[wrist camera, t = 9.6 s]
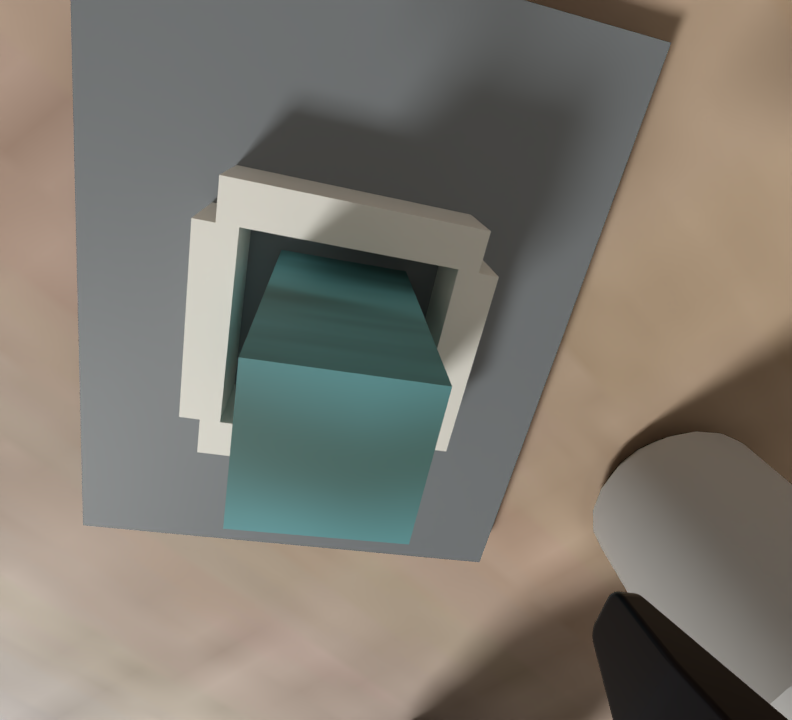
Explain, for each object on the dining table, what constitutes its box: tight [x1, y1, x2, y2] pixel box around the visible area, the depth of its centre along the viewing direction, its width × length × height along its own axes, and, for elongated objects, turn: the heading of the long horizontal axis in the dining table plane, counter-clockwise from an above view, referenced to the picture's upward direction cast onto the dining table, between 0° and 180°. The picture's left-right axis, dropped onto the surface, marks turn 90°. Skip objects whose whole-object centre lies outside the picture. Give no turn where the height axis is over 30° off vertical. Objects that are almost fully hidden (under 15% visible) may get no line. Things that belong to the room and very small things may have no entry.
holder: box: [71, 0, 671, 562], centre depth 17 cm, size 20×16×4 cm
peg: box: [223, 250, 452, 544], centre depth 14 cm, size 4×4×8 cm
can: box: [593, 431, 792, 720], centre depth 19 cm, size 8×8×12 cm
